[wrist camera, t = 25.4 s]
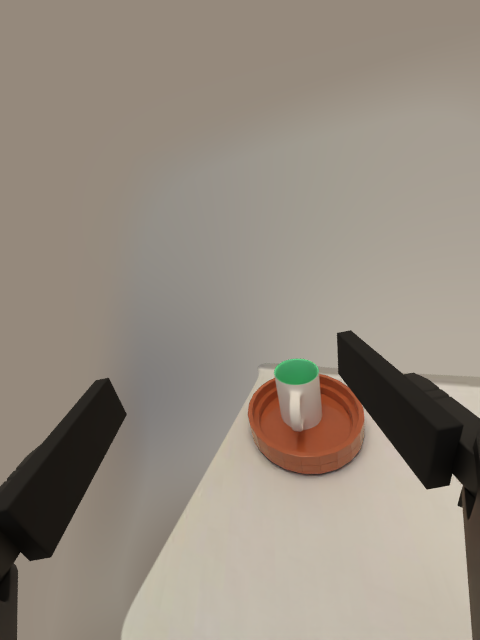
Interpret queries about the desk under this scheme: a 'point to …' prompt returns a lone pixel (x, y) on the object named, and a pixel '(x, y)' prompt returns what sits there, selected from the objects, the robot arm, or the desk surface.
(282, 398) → the mug
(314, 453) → the bowl
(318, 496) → the desk surface
